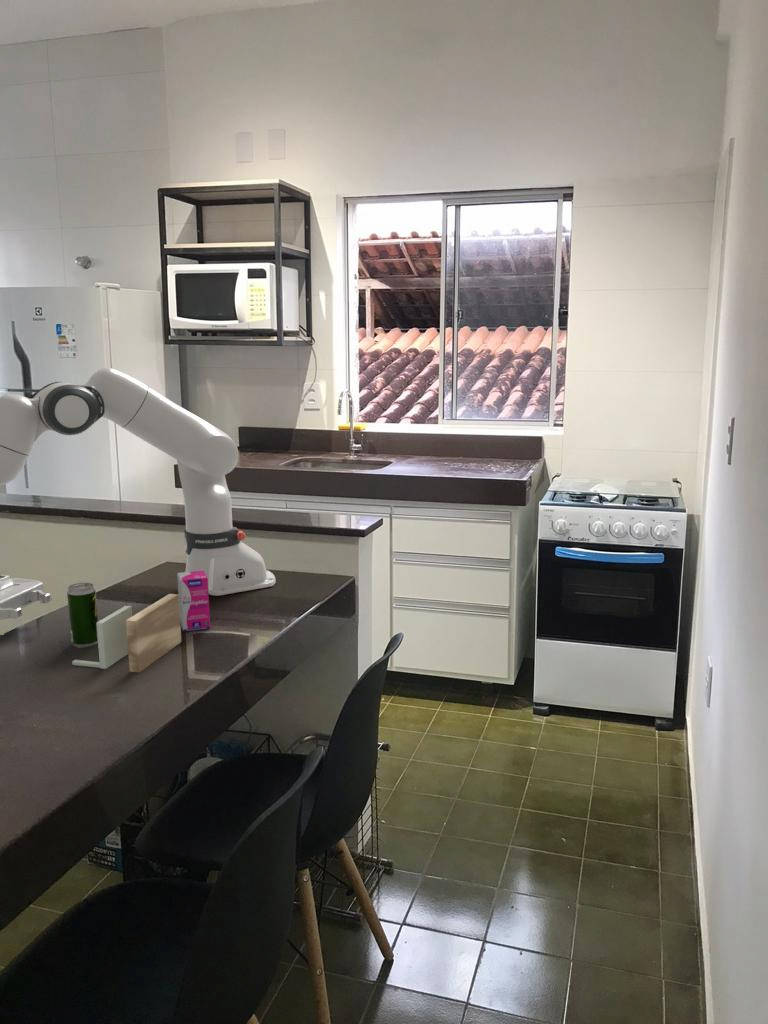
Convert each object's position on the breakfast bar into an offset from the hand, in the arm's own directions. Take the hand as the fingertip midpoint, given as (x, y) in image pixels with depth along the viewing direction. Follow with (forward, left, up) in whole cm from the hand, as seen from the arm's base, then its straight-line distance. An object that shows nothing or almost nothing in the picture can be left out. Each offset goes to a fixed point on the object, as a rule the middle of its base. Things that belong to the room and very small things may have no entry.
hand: (34, 605), depth 172 cm
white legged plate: (-12, +16, -7) cm, 21 cm away
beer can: (-9, +7, -7) cm, 13 cm away
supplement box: (-31, +5, -7) cm, 32 cm away
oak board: (-22, +19, -7) cm, 30 cm away
